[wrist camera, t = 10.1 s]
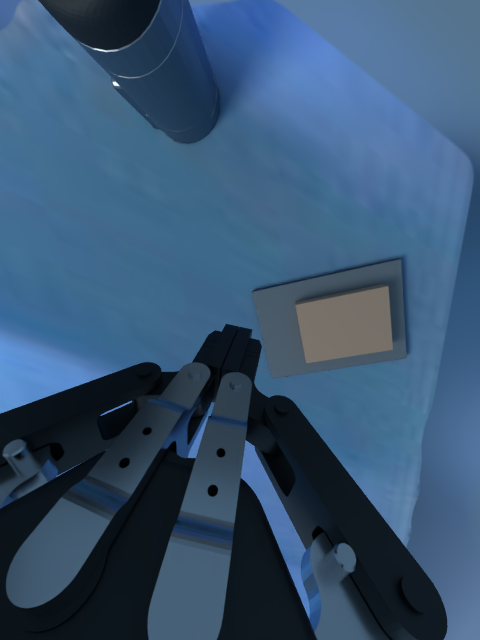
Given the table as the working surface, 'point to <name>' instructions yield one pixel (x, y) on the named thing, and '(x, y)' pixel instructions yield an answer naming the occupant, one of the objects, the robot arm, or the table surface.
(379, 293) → the tile
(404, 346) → the mat
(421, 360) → the table surface
